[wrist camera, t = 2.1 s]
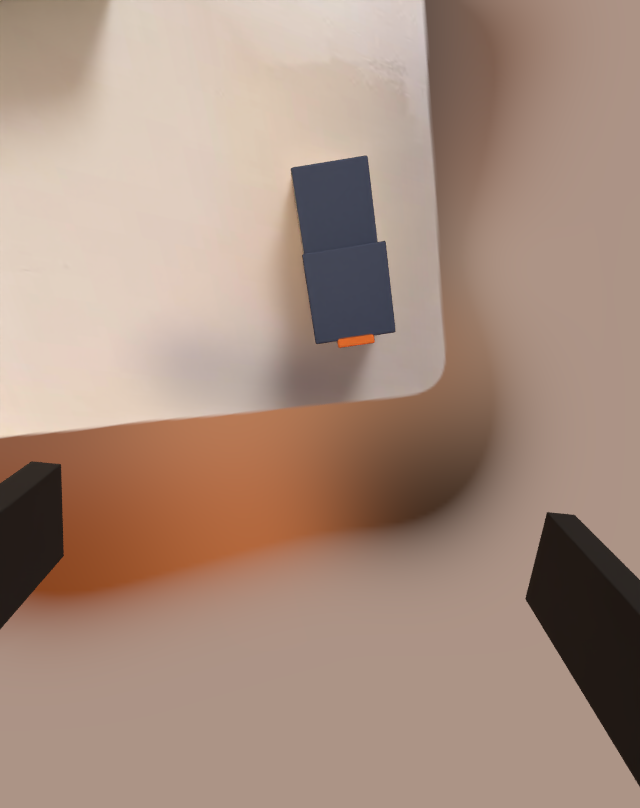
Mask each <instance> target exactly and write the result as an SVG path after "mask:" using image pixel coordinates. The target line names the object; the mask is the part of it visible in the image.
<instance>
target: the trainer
mask: <svg viewBox="0 0 640 808" xmlns="http://www.w3.org/2000/svg"><path fill="white" fill-rule="evenodd" d="M291 177H292V183H293V190H294V196H295V203H296V209H297V216H298V222H299V229H300V235H301V242H302V248H303V255H302V257H303V264H304V270H305V277H306V283H307V290H308V296H309V302H310V309H311V315H312V322H313V328H314V335H315V341H316V344H320V343H327V342H334V341H337V343H338V347H339V348H342V347H349V346H356V345H362V344H369V343H374V335H380V334H386V333H393V332H395V322H394V313H393V304H392V295H391V286H390V277H389V268H388V259H387V251H386V242H385V241H382V242H377V234H376V225H375V217H374V208H373V199H372V191H371V182H370V174H369V165H368V157H367V156H360V157H354V158H348V159H342V160H336V161H330V162H324V163H318V164H311V165H305V166H299V167H293V168H291Z"/></svg>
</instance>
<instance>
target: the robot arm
mask: <svg viewBox="0 0 640 808" xmlns="http://www.w3.org/2000/svg"><path fill="white" fill-rule="evenodd" d="M62 522H63V521H62V487H61V464H52V463H42V462H30V463H29V464H27V465H26V466H24V467H23V468H22V469H20V470H19V471H17V472H16V473H14V474H13V475H12V476H10V477H9V478H7V479H6V480H4V481H3V482H2V483H0V629H1V628H2V627H3V625H4V624H5V623H6V622H7V621H8V619H9V618H10V617H11V616H12V615H13V614H14V613H15V611H16V610H17V609H18V608H19V607H20V606H21V605H22V603H23V602H24V601H25V600H26V599H27V598H28V596H29V595H30V594H31V593H32V592H33V591H34V590H35V588H36V587H37V586H38V585H39V584H40V582H41V581H42V580H43V579H44V578H45V577H46V576H47V574H48V573H49V572H50V571H51V570H52V569H53V568H54V566H55V565H56V564H57V563H58V562H59V561H60V559H61V558H62V557H63V556H64V555H63V523H62ZM526 601H527V602H528V604H529V605H530V607H531V609H532V610H533V612H534V614H535V615H536V617H537V619H538V620H539V622H540V623H541V625H542V627H543V629H544V630H545V632H546V633H547V635H548V637H549V638H550V640H551V642H552V643H553V645H554V647H555V648H556V650H557V651H558V653H559V655H560V656H561V658H562V660H563V661H564V663H565V664H566V666H567V668H568V670H569V671H570V673H571V675H572V676H573V678H574V679H575V681H576V683H577V684H578V686H579V687H580V689H581V691H582V693H583V694H584V696H585V697H586V699H587V700H588V702H589V704H590V706H591V707H592V709H593V710H594V712H595V714H596V715H597V717H598V719H599V720H600V722H601V724H602V725H603V727H604V729H605V730H606V732H607V733H608V735H609V737H610V739H611V740H612V742H613V743H614V745H615V747H616V748H617V750H618V752H619V753H620V755H621V757H622V758H623V760H624V762H625V763H626V765H627V766H628V768H629V770H630V771H631V773H632V775H633V776H634V778H635V780H636V781H637V783H638V784H639V786H640V580H639V579H638V578H637V577H636V576H635V575H634V574H633V573H632V572H631V571H630V570H629V569H628V568H627V567H626V566H625V565H624V564H623V563H622V562H621V561H620V560H619V559H618V558H617V557H616V556H615V555H614V554H613V553H612V552H611V551H610V550H609V549H608V548H607V547H606V546H605V545H604V544H603V543H602V542H601V541H600V540H599V539H598V538H597V537H596V536H595V535H594V534H593V533H592V532H591V531H590V530H589V529H588V528H587V527H586V526H585V525H584V524H583V523H582V522H581V521H580V520H579V519H578V518H577V517H576V516H575V515H569V514H559V513H549V512H548V513H547V515H546V519H545V523H544V527H543V531H542V535H541V539H540V543H539V547H538V551H537V555H536V559H535V563H534V567H533V571H532V575H531V579H530V583H529V587H528V591H527V595H526Z"/></svg>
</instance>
